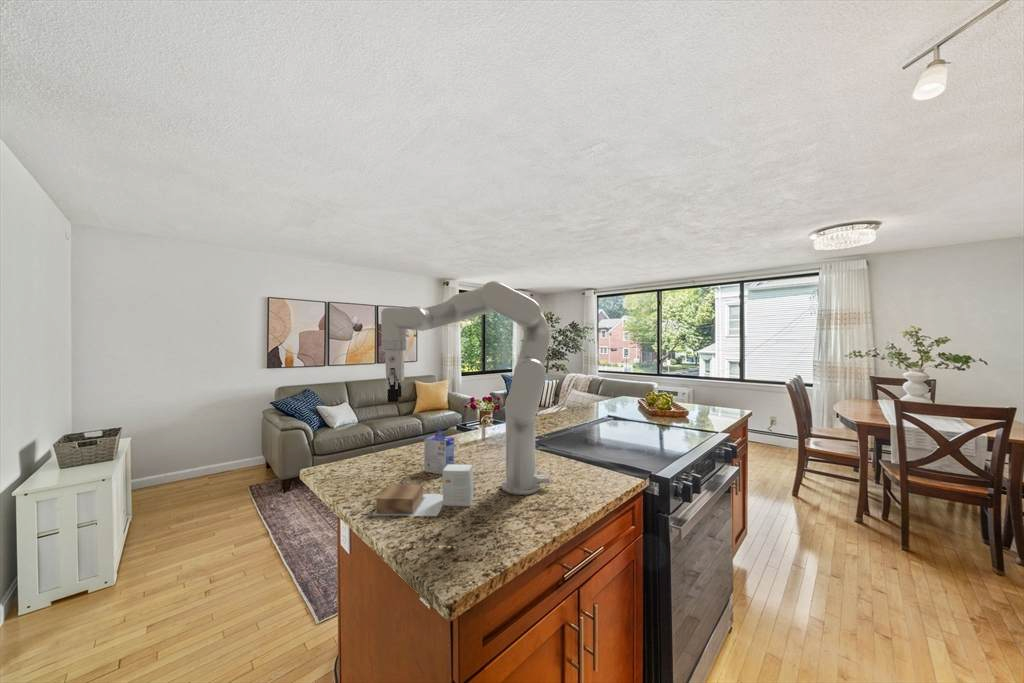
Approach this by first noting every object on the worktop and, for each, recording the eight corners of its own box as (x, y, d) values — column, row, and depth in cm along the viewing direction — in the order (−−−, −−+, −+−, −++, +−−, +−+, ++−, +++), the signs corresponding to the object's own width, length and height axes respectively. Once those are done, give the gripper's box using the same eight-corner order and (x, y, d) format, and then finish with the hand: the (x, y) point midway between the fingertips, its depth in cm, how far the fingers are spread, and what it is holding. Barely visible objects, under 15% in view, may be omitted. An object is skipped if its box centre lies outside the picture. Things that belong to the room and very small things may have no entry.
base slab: (423, 498, 111) (423, 484, 111) (412, 513, 101) (412, 498, 101) (390, 497, 112) (390, 484, 112) (376, 513, 102) (376, 498, 102)
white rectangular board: (448, 495, 114) (448, 494, 114) (436, 517, 100) (436, 515, 100) (390, 494, 115) (390, 493, 115) (371, 516, 101) (371, 514, 101)
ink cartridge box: (455, 470, 136) (454, 431, 136) (446, 475, 131) (446, 434, 131) (432, 467, 140) (432, 428, 140) (423, 471, 135) (423, 432, 135)
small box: (473, 499, 111) (473, 464, 111) (469, 507, 106) (469, 470, 106) (447, 498, 112) (447, 463, 112) (442, 507, 106) (442, 470, 106)
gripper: (403, 346, 112) (404, 403, 112) (408, 345, 129) (408, 395, 129) (377, 347, 110) (378, 404, 110) (385, 346, 127) (386, 396, 127)
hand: (394, 399), depth 120 cm, fingers open, 9 cm apart
